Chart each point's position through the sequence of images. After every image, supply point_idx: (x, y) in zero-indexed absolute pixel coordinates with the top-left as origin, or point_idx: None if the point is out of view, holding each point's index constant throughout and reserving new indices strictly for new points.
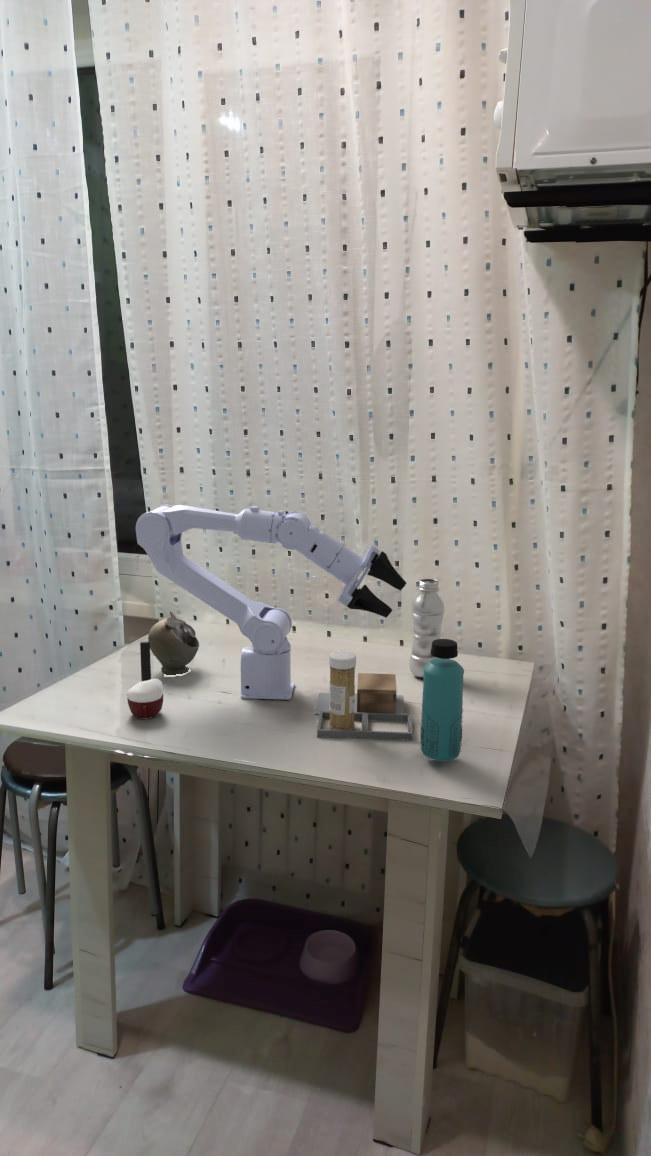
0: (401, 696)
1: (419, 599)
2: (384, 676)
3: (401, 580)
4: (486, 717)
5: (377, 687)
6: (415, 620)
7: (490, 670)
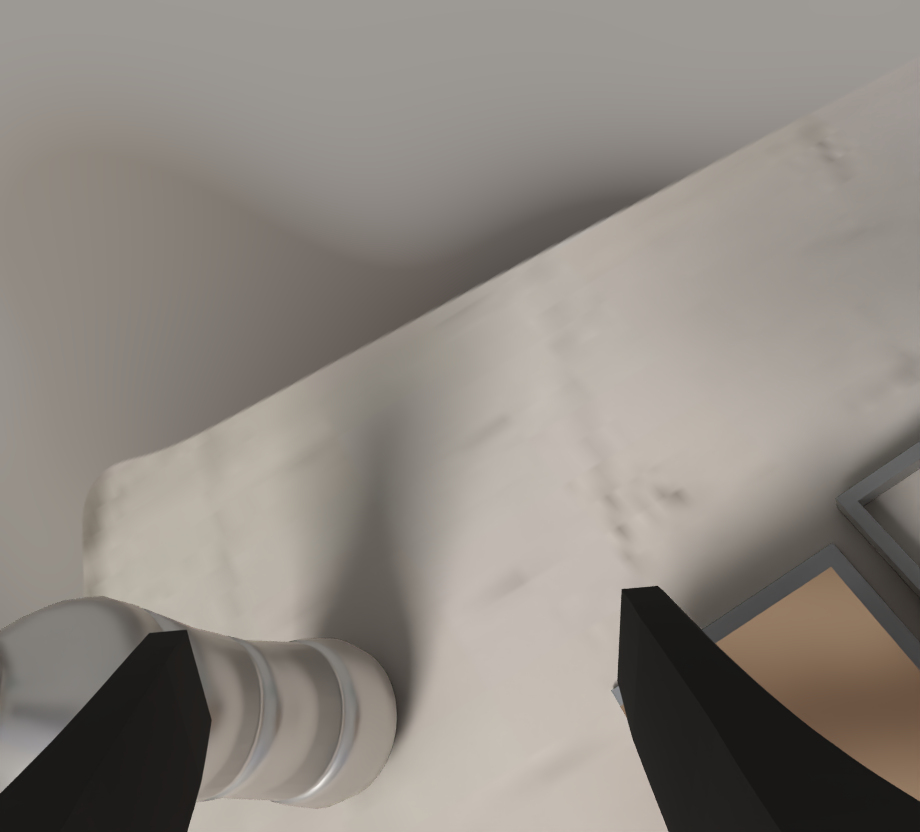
0: None
1: None
2: None
3: (158, 668)
4: (589, 315)
5: (881, 684)
6: None
7: (206, 536)
